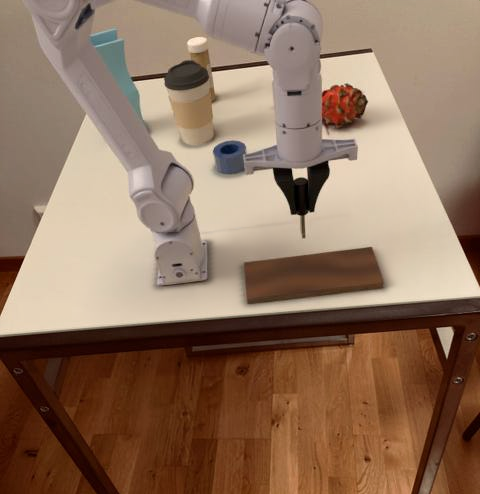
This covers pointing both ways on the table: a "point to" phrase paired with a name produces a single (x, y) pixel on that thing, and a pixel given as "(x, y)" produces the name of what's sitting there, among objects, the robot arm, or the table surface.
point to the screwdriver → (301, 201)
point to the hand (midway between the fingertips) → (302, 209)
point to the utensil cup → (229, 157)
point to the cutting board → (312, 275)
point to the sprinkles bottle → (202, 58)
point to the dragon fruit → (342, 104)
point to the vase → (117, 65)
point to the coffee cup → (191, 101)
